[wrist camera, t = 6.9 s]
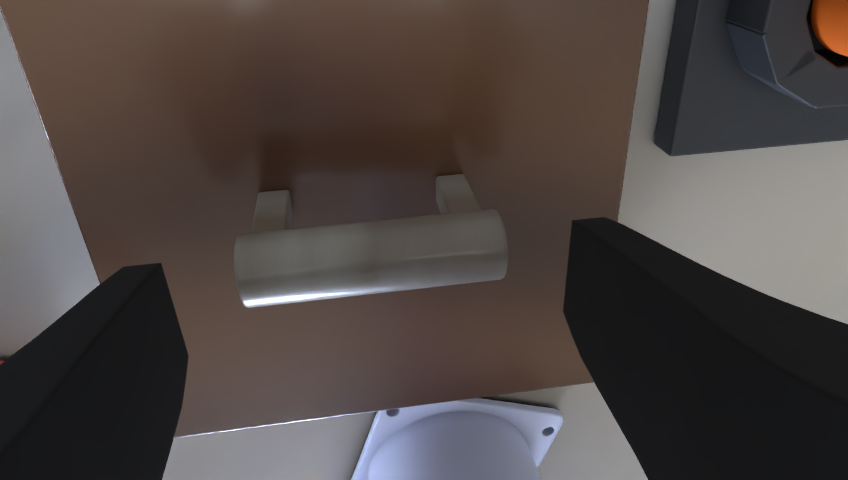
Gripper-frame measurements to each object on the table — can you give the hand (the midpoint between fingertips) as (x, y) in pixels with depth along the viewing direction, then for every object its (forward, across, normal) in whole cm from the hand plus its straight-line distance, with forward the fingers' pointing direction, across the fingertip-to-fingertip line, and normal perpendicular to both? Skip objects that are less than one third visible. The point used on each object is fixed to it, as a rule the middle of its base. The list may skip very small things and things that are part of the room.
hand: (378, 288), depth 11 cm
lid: (+4, 0, +1) cm, 4 cm away
